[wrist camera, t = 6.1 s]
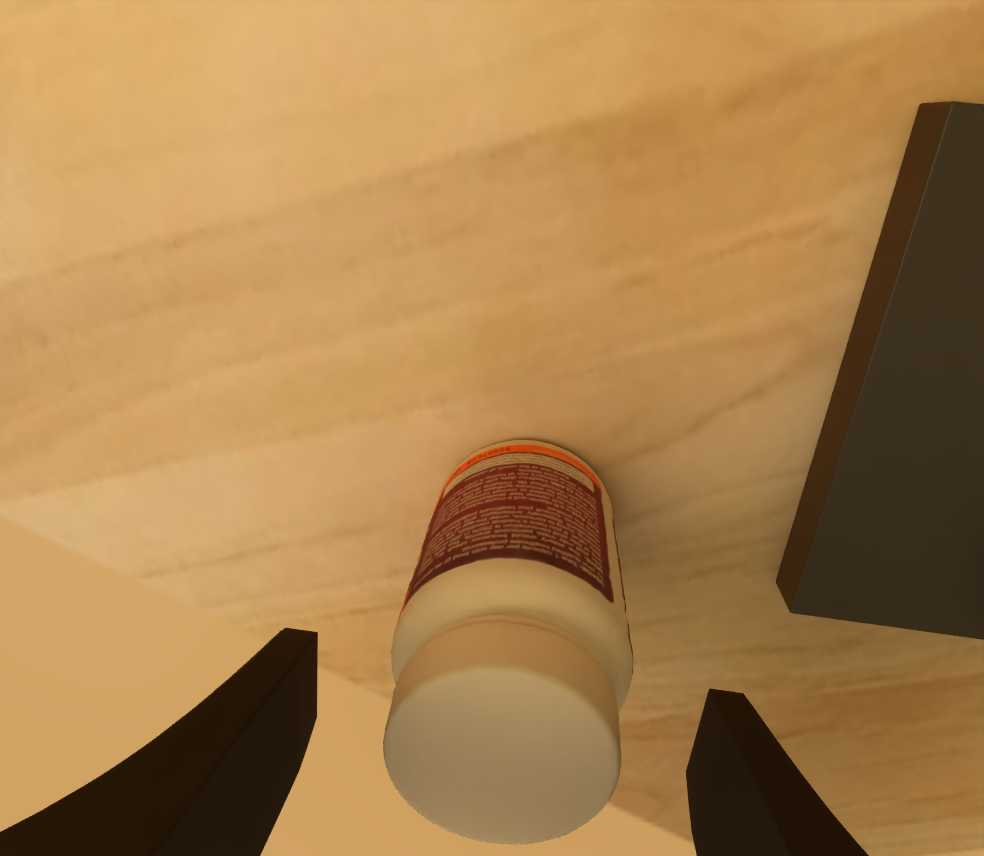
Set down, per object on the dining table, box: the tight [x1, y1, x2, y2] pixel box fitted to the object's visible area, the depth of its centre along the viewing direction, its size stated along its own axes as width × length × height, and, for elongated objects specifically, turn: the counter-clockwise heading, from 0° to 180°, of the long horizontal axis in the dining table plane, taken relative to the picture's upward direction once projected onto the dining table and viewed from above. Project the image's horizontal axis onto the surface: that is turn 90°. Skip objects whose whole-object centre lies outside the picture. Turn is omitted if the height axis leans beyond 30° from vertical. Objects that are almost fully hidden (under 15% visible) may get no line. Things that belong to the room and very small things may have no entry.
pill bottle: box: [383, 440, 633, 844], centre depth 16 cm, size 5×5×8 cm
